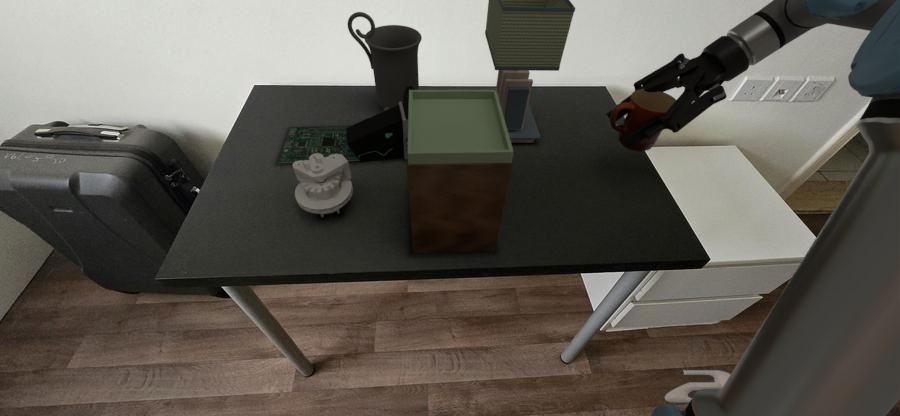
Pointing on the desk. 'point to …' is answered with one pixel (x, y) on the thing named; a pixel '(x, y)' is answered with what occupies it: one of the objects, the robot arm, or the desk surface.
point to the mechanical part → (323, 183)
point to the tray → (457, 128)
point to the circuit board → (316, 143)
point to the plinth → (456, 205)
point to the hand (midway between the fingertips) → (618, 130)
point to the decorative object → (382, 133)
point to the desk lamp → (525, 54)
